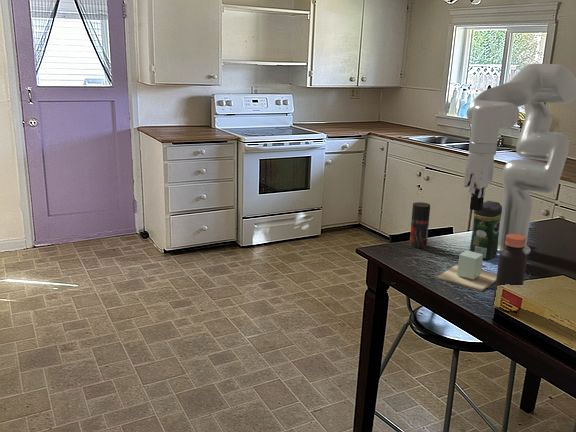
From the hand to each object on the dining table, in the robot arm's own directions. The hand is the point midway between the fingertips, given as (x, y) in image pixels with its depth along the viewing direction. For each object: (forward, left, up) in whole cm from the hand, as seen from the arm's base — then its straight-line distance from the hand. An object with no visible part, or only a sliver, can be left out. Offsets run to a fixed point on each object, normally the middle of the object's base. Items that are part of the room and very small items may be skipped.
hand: (476, 209), depth 165 cm
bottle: (+13, +17, -22) cm, 30 cm away
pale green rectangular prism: (+1, +1, -20) cm, 20 cm away
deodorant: (-15, -25, -22) cm, 36 cm away
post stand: (+1, +1, -21) cm, 21 cm away
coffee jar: (-21, -4, -22) cm, 30 cm away
